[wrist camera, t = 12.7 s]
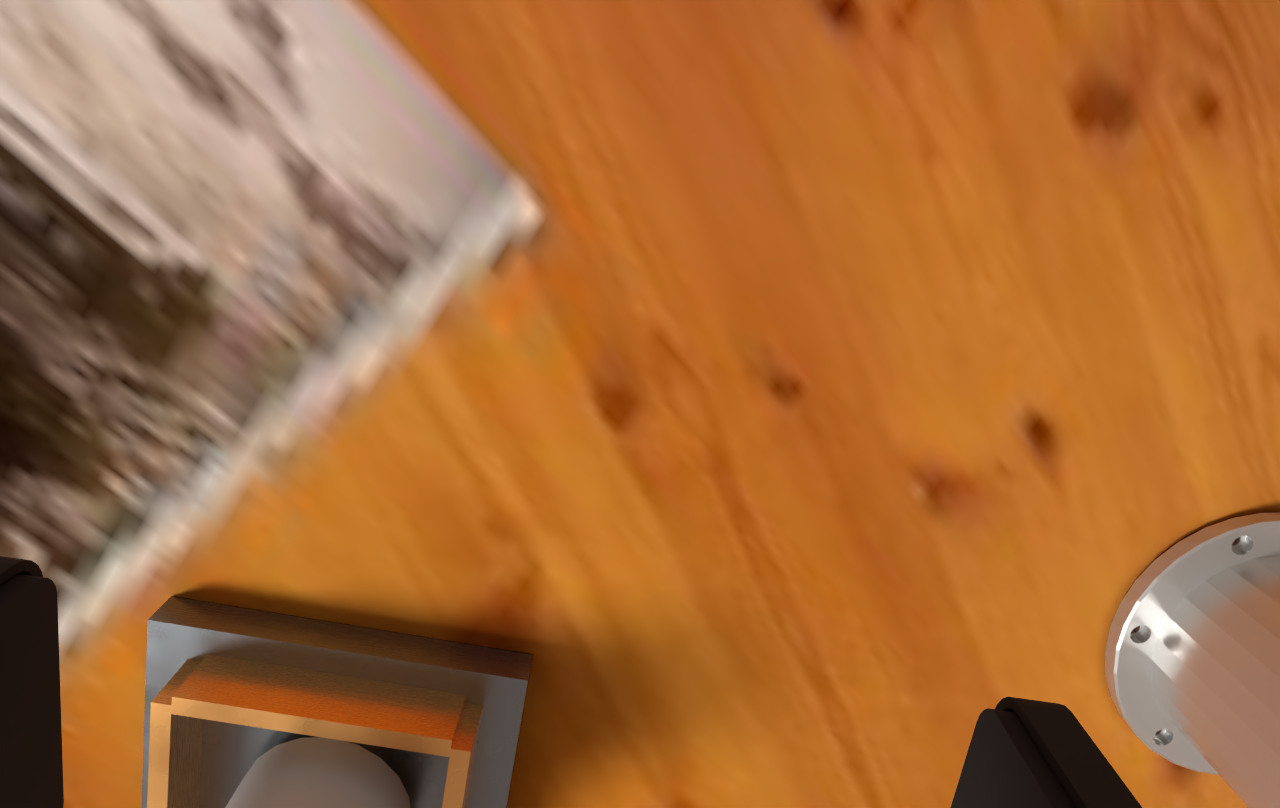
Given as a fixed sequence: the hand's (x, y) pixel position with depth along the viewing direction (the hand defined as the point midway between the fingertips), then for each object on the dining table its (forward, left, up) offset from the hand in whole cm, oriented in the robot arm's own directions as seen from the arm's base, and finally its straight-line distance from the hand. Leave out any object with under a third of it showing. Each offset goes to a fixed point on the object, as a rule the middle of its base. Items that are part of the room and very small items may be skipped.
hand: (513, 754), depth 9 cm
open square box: (+8, +24, -28) cm, 38 cm away
